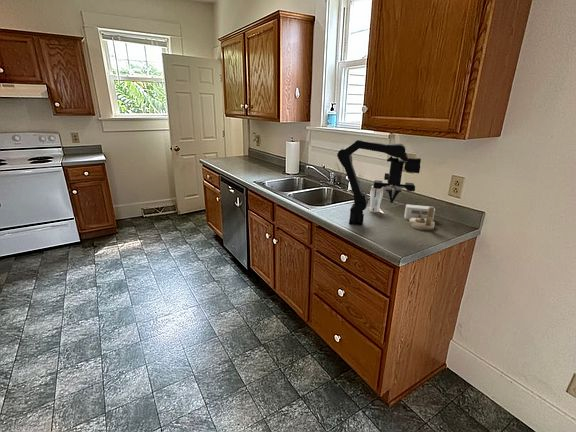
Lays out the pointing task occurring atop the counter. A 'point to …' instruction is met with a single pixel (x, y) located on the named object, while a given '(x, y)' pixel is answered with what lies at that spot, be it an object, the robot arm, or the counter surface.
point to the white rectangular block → (416, 211)
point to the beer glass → (375, 199)
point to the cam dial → (423, 221)
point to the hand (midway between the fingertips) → (391, 202)
